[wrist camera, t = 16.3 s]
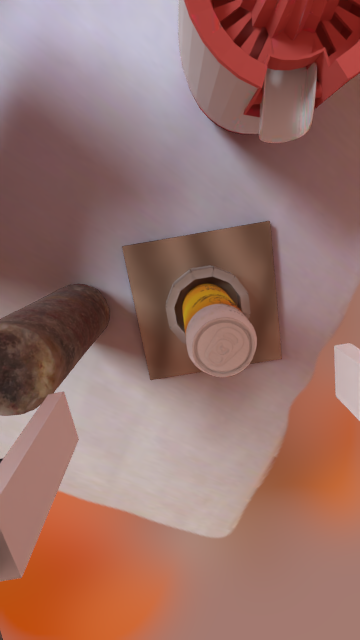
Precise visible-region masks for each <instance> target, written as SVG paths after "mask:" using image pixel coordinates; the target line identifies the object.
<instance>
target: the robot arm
mask: <svg viewBox="0 0 360 640" xmlns="http://www.w3.org/2000/svg"><path fill="white" fill-rule="evenodd" d="M334 356H335V391H336V397H337V398H338V399H339V400H340V401H341V402H342V403H343V404H344V405H345V406H346V407H347V408H348V409H349V410H350V411H351V412H352V413H353V415H354V416H355V417H356V418H358V420H359V421H360V349H359V348H357V347H355V346H354V345H353V344H351V343H346V344H341V345H335V346H334ZM78 440H79V439H78V435H77V432H76V429H75V426H74V423H73V419H72V416H71V413H70V410H69V406H68V403H67V400H66V397H65V394H64V392H59V393H53V394H48V395H47V397H46V398H45V400H44V401H43V403H42V404H41V405H40V407H39V408H38V410H37V411H36V413H35V414H34V416H33V417H32V418H31V420H30V421H29V423H28V424H27V426H26V427H25V428H24V430H23V431H22V433H21V434H20V436H19V437H18V438H17V440H16V441H15V443H14V444H13V446H12V447H11V448H10V450H9V451H8V453H7V454H6V456H5V457H4V458H3V459H0V581H4V580H11V579H17V578H21V577H22V576H23V573H24V571H25V568H26V566H27V564H28V561H29V559H30V556H31V554H32V551H33V549H34V547H35V544H36V542H37V539H38V537H39V534H40V532H41V530H42V527H43V525H44V522H45V520H46V517H47V515H48V513H49V510H50V508H51V505H52V503H53V500H54V498H55V496H56V493H57V491H58V488H59V486H60V484H61V481H62V479H63V476H64V474H65V471H66V469H67V467H68V464H69V462H70V459H71V457H72V454H73V452H74V450H75V447H76V445H77V442H78ZM0 640H3V638H2V635H1V632H0Z"/></svg>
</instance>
